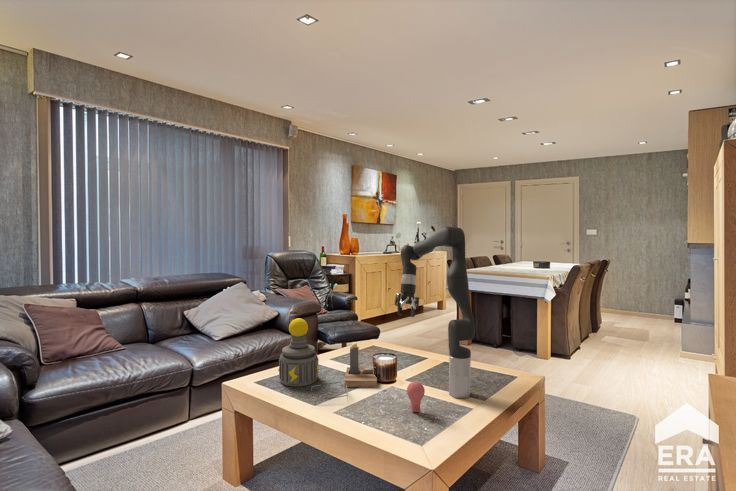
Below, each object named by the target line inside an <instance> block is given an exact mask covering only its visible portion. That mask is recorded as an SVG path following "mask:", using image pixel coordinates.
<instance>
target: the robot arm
mask: <svg viewBox="0 0 736 491" xmlns="http://www.w3.org/2000/svg"><path fill="white" fill-rule="evenodd" d="M465 235H466V234H465V232H464V230H463V229H462V228H461V227H456V226H444V227H442V228H440V229H438V230H437V231H436V232H435V233H433V234H432V235H430V236H429V237H427V238H425V239H423V240H420V241H418V242H416V243H415V244H414V245H409V244H404V245H403V246H402V247H401V249H400V259H401V264H402V276H401V282H400V293H396V294H395V299H394V306H395V307H397V312H396V314H397V315H398V316H402V315H403V306H404V305H405V304H406V305H408V306H409V307H410V314H409V315H410V318H415V315H416V310H417V309H419V308H420V298H419V296H415V294H416V288H417V286H416V285H417V265H416V264H414V263H413V262H411V261H418V260H420V259H422V257H423V256H425V255H427V254H431V253H432V252H433V251H434V250H435V249H436V248H439V247H449V248H451V249H452V259H451V260H452V261H451V263H450V265H449V267H448V270H447V273H446V283H447V290H448V293H449V295H450V296H451V298H452V300H454V301H455V303H456V305H457V306H458V307H459V309H460V312H461V316H462V318H461V319H451V320H449V322H448V325H447V331H448V332H447V336H448V351H449V356H448V360H449V361H448V364H449V365H448V394H449V395H450V396H452V397H453V398H454V399H469V397H470V396H471V366H472V365H471V363H472V359H471V358H472V351H471V349H470V348H468V347H465V346H462V345H460V344H461V343H460V342H461V341H463V342H465V341H471V340H474V339H475V335H476V326H475V321H474V315H473V311H472V306H471V297H470V288H469V287H470V286H469V278H468V271H467V262H466V260H467V258H466V236H465Z"/></svg>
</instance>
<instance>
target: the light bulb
mask: <svg viewBox="0 0 736 491" xmlns="http://www.w3.org/2000/svg"><path fill="white" fill-rule="evenodd" d="M425 391H426V390H425V387H424V385H423V384H422V383H421V382H420V381H412V382H410V383H409V384H408V386H407V388H406V394H407V397H408V399H409V400H410V408H411V409H410V410H411V411H412V412H414V413H418V412H420V411H421V401H422V400H423V398H424V396H425V393H426V392H425Z"/></svg>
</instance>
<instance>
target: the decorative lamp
mask: <svg viewBox="0 0 736 491" xmlns="http://www.w3.org/2000/svg"><path fill="white" fill-rule="evenodd" d="M308 330H309V325H308V322H307V321H306V320H305V319H303V318H298V317H297V318H294V319H292V320H291V321H290V323H289V325H288V332H289V334H290V335H291V339H290V343H289V344H288V345H286V346H284V347H283V348H282V349H281V354H280V355H279V359H278V367H279V368H278V373H279V374H278V379H279V380H280V383H281V384H282V385H284V386H288V387H292V388H293V387H294V388H298V387H300V388H301V387H306V386H310V385H312V384H313V383H315V382H316V381H317V380H318V378H319V371H320V368H319V360H320V359H319V357H318V353H317V352H316V348H315V346H314V345H311V344H308V341H307V335H306V334H307V333H308Z"/></svg>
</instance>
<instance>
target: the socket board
mask: <svg viewBox="0 0 736 491" xmlns="http://www.w3.org/2000/svg"><path fill="white" fill-rule="evenodd" d="M374 368H375V367H373V366H362V367H360V366H359V374H350V366H349V367H346V370H345V375H344V379H343V383H344V382H345V383H344V385H343V387H344V388H345V386H346V387H347V388H377V386H378V376H377V377H376V376H375V375H374V374H373V371H374Z"/></svg>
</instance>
